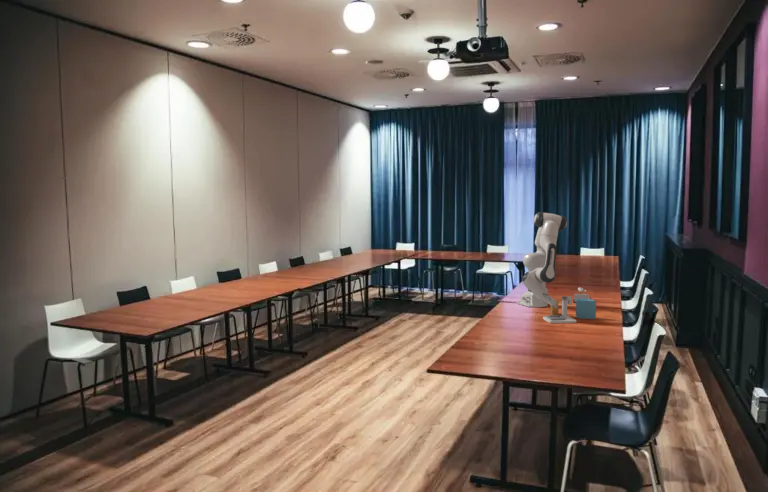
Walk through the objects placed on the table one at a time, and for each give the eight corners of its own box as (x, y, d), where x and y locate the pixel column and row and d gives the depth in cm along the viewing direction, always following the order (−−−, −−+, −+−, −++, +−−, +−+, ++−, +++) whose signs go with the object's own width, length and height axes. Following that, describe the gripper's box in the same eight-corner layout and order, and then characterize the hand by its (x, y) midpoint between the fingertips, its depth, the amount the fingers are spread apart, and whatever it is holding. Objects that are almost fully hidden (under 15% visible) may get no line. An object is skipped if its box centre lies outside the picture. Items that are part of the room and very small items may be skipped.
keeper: (549, 323, 349) (550, 299, 348) (542, 318, 362) (543, 295, 361) (576, 322, 350) (576, 298, 349) (568, 318, 363) (568, 294, 362)
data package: (595, 317, 363) (595, 299, 362) (595, 319, 359) (596, 300, 358) (575, 316, 367) (576, 298, 366) (576, 318, 363) (576, 300, 361)
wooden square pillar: (552, 315, 370) (552, 300, 369) (550, 314, 374) (550, 299, 373) (558, 315, 370) (558, 300, 369) (556, 313, 374) (556, 299, 373)
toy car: (575, 286, 428) (591, 287, 423) (575, 299, 428) (591, 300, 424) (573, 290, 411) (589, 291, 407) (573, 303, 412) (589, 304, 407)
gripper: (549, 292, 360) (564, 306, 361) (539, 286, 380) (553, 300, 381) (543, 299, 360) (557, 313, 361) (533, 293, 380) (546, 306, 382)
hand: (555, 306), depth 371 cm, fingers closed on wooden square pillar, 4 cm apart
